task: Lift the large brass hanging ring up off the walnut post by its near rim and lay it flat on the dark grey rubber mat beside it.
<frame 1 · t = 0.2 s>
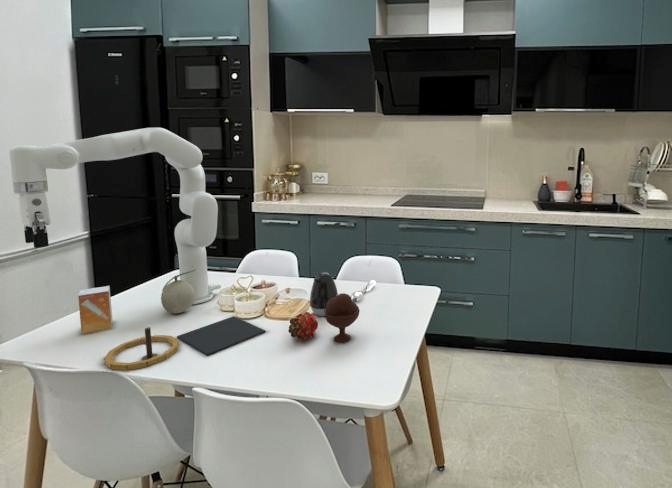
hand: (37, 244, 130), 31 cm above the table, tool pointing down, fingers open, 9 cm apart
mat: (221, 335, 138), on the table
ring: (143, 353, 127), on the table
post: (149, 358, 124), on the table
small box: (97, 328, 144), on the table
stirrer: (364, 293, 175), on the table
pump dispenser: (324, 313, 155), on the table
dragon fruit: (304, 337, 137), on the table
fruit: (178, 313, 156), on the table
ice cream bowl: (342, 339, 135), on the table
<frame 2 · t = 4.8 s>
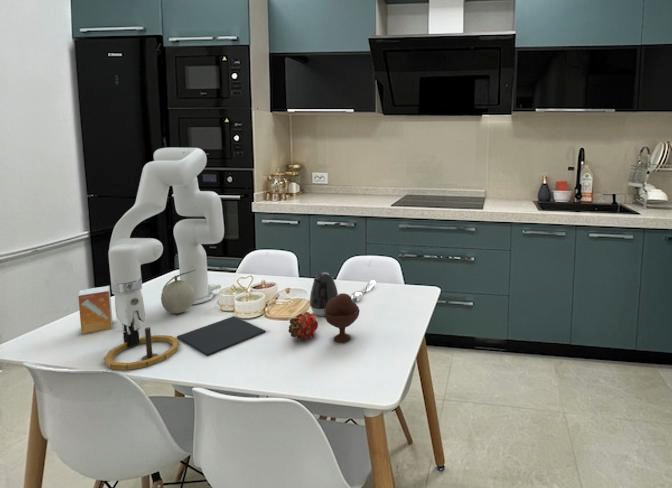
hand: (131, 343, 131), 1 cm above the table, tool pointing down, fingers closed on ring, 1 cm apart
ring: (143, 353, 127), on the table, touching gripper
everything else where it was.
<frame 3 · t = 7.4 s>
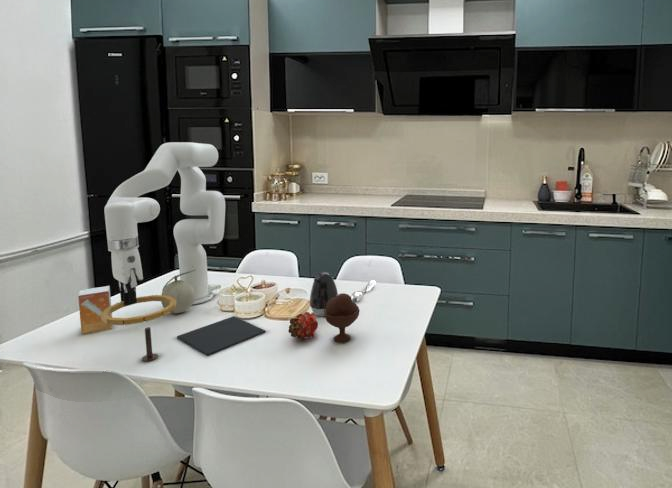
hand: (129, 302, 130), 13 cm above the table, tool pointing down, fingers closed on ring, 1 cm apart
ring: (140, 311, 125), point 13 cm above the table, touching gripper
everything else where it was.
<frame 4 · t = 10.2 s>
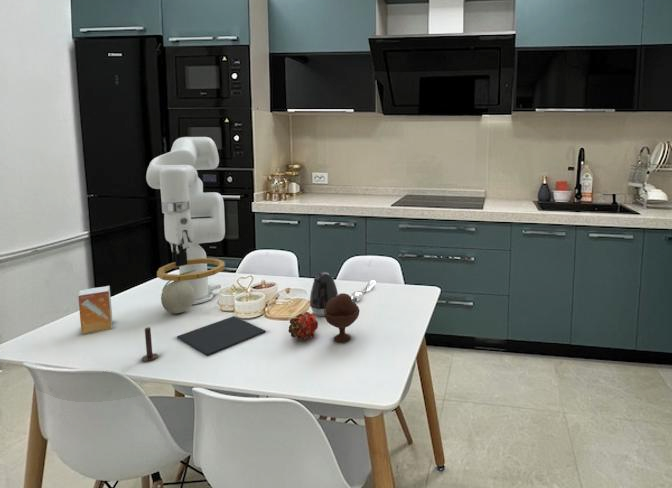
hand: (180, 264, 137), 23 cm above the table, tool pointing down, fingers closed on ring, 1 cm apart
ring: (192, 271, 132), point 22 cm above the table, touching gripper
everything else where it was.
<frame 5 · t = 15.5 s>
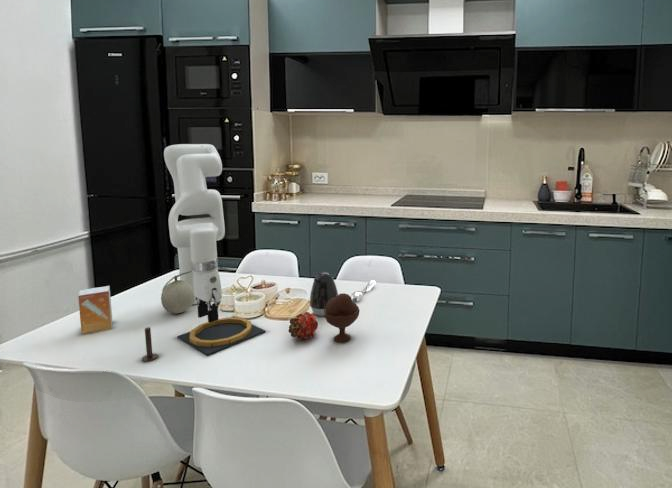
hand: (208, 318, 143), 4 cm above the table, tool pointing down, fingers open, 5 cm apart
ring: (221, 333, 138), point 1 cm above the table, touching mat
everything else where it was.
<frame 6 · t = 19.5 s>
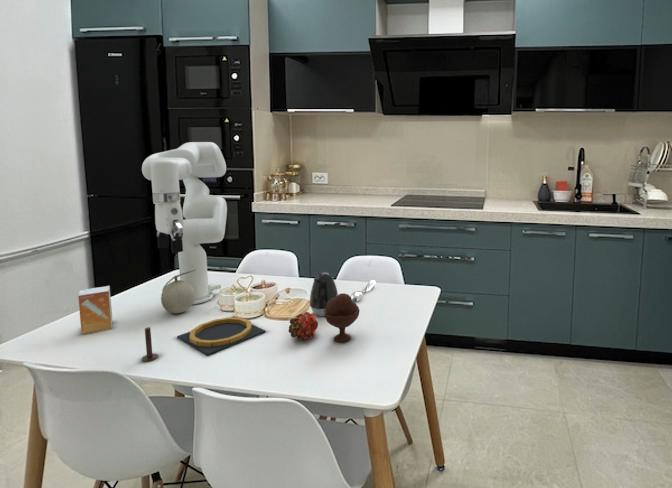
hand: (170, 249, 141), 26 cm above the table, tool pointing down, fingers open, 9 cm apart
nothing on the table moved.
at the end: ring inside the target area (0.1 cm from its centre), point 0.6 cm above the table; ring touching mat; the gripper is holding nothing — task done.
